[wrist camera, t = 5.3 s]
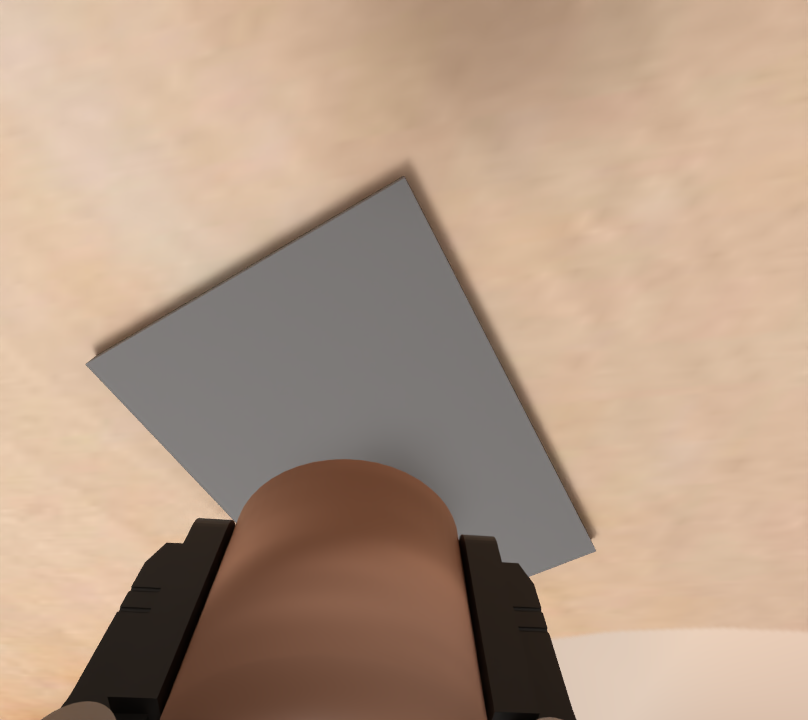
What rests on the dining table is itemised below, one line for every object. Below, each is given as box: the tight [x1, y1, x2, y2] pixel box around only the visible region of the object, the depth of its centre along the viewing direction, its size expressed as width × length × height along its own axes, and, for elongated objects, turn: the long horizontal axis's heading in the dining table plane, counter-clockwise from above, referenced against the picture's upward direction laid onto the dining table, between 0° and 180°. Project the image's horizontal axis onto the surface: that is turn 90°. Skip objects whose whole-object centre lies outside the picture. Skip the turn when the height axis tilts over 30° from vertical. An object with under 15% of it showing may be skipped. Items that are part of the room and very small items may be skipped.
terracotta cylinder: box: [160, 459, 487, 720], centre depth 9 cm, size 5×5×4 cm
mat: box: [86, 176, 596, 577], centre depth 30 cm, size 20×28×1 cm
